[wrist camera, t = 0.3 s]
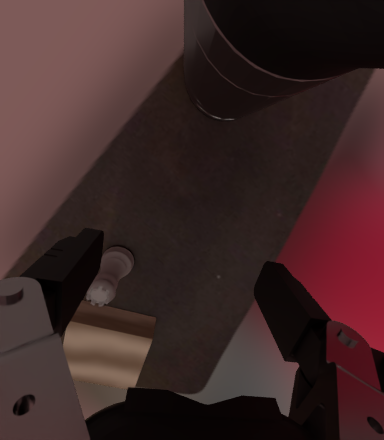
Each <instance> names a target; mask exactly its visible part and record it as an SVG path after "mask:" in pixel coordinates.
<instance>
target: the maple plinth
mask: <svg viewBox="0 0 384 440" xmlns="http://www.w3.org/2000/svg"><path fill="white" fill-rule="evenodd" d="M90 303H91V302H88V301H84V300H82V302H81V303H80V305H79V307H78V309H77V310H76V312H75V314H74V316H73V317H72V319H71V321H70V323H69V324H68V326H67V328H66V333H65V338H64V343H63V349H64V352H65V355H66V359H67V362H68V366H69V369H70V372H71V376H72V379H73V380H77V381H83V382H88V383H93V384H99V385H104V386H110V387H115V388H121V389H127V390H128V387H133V388H134V387H135V385H136V382H137V379H138V377H139V374H140V371H141V369H142V366H143V364H144V361H145V358H146V356H147V353H148V350H149V348H150V345H151V342H152V340H153V334H154V328H155V322H156V317H152V316H147V315H143V314H139V313H135V312H130V311H126V310H122V309H118V308H113V307H109V306H105V305H103V306H101V307H99V306H98V304H96V303H95V305H94V306H93V305H92V304H90Z"/></svg>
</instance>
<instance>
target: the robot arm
mask: <svg viewBox="0 0 384 440" xmlns="http://www.w3.org/2000/svg"><path fill="white" fill-rule="evenodd" d="M358 68H380V69H382V68H383V69H384V0H184V78H185V85H186V89H187V92H188V94H189V97H190V99H191V101H192V102H193V104H194V105H195V106H196V108H197V109H198V110H199V111H201V112H202V113H203V114H204V115H206V116H208V117H210V118H211V119H215V120H219V121H231V120H235V119H238V118H241V117H243V116H246V115H248V114H251V113H253V112H256V111H258V110H261V109H263V108H265V107H268V106H270V105H273V104H275V103H277V102H280V101H282V100H285V99H287V98H289V97H292V96H294V95H297V94H299V93H301V92H304V91H306V90H309V89H310V88H313V87H315V86H318V85H320V84H322V83H325V82H327V81H330V80H332V79H334V78H337V77H339V76H341V75H344V74H346V73H349V72H351V71H353V70H356V69H358ZM103 239H104V232H103V231H101V230H95V229H89V228H85V229H83V230H82V232H81V233H80V234H79V235H78V236H77V237H71V236H69V237H67V238H65V239H62V240H60V241H58V242H57V243H56V244H55V245H54V246H53V247H51V249H49V250H48V251H47V252H46V253H45V254H44V256H42V257H40V258H39V259H38V260H37V261H36V262H35V263H34V264H33V265H32V266H30V267H29V268H28V269H27V270H26V271H25V272H24V273H23V274H22V275H21V276H19V277H13V278H7V279H3V280H0V440H384V353H383V352H381V351H378V350H376V349H373V348H370V346H369V344H368V343H367V342H366V340H365V339H364V338H363V337H362V336H361V335H360V334H359V333H357V332H356V331H355V330H353V329H352V328H350V327H349V326H347V325H345V324H343V323H340V322H337V321H332V320H331V319H330V318H329V316H328V315H327V314H326V313H325V312H324V311H323V309H322V308H321V307H320V306H319V304H318V303H317V302H316V301H315V299H313V298H312V296H311V295H310V293H309V292H307V290H306V289H305V288H304V286H303V285H302V284H301V283H300V282H299V281H298V280H297V279H296V278H294V277H293V276H292V275H291V273H290V272H289V271H288V270H287V268H286V267H285V266H284V265H283V264H281V263H276V262H270V261H267V262H265V264H264V265H263V268H262V270H261V272H260V275H259V277H258V279H257V282H256V284H255V287H254V296H255V299H256V301H257V303H258V305H259V307H260V310H261V312H262V314H263V316H264V318H265V320H266V322H267V324H268V327H269V329H270V331H271V333H272V335H273V337H274V339H275V341H276V343H277V346H278V348H279V350H280V352H281V354H282V356H283V358H284V361H288V362H297V363H298V364H299V368H298V369H297V371H296V375H295V381H294V387H293V393H292V399H291V406H290V412H289V416H288V417H287V416H285V415H283V414H281V412H280V410H279V407H278V404H277V402H276V399H275V398H266V397H254V396H239V397H235V398H232V399H228V400H225V401H221V402H217V403H214V404H210V405H205V404H202V403H199V402H197V401H194V400H192V399H189V398H187V397H184V396H181V395H179V394H176V393H174V392H171V391H168V390H160V389H146V388H133V387H128V390H127V395H126V400H125V401H124V402H120V403H116V404H113V405H111V406H108V407H106V408H104V409H102V410H100V411H98V412H96V413H95V414H93V415H92V416H90V417H89V418H87V419H86V420H84V416H83V413H82V410H81V406H80V403H79V400H78V396H77V393H76V389H75V386H74V383H73V379H72V376H71V372H70V369H69V366H68V362H67V359H66V355H65V352H64V349H63V345H62V342H61V339H60V337H62V335H63V333H64V331H65V330H66V328H67V326H68V324H69V323H70V321H71V319H72V317H73V316H74V314H75V312H76V310H77V309H78V307H79V305H80V303H81V302H82V300H83V298H84V296H85V294H86V293H87V291H88V289H89V287H90V286H91V284H92V282H93V280H94V279H95V277H96V275H97V273H98V271H99V268H100V265H101V259H102V249H103Z"/></svg>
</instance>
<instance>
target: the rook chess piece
mask: <svg viewBox="0 0 384 440" xmlns="http://www.w3.org/2000/svg"><path fill="white" fill-rule="evenodd" d="M133 265H134V258H133V255H132V254H131V253H130V251H128V250H127V249H125V248H122V247H111V248H109V249H107V250H106V251H105V253H104V254H103V256H102V259H101V271H100V274H99V275H97V276H96V277H95V279H94V281H93V282H92V284H91V286H90V287H89V289H88V291H87V296H86V299H87V300H90V299H91V300H92V301H91V303H90V304H92V305H93V306H94V305H95V303H99V304H98V306H99V307H101V306H103V305H104V303H105V304H108V302H110V301H112V300H113V299H114V298H115V295H116V288H117V286H118V281H119V280H120V278H122V277H124V276H126V275H127V274H128V273H129V272H130V271H131V269H132V267H133Z"/></svg>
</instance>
